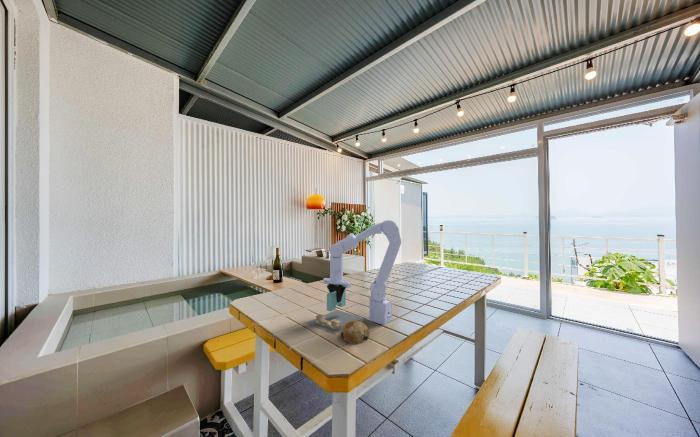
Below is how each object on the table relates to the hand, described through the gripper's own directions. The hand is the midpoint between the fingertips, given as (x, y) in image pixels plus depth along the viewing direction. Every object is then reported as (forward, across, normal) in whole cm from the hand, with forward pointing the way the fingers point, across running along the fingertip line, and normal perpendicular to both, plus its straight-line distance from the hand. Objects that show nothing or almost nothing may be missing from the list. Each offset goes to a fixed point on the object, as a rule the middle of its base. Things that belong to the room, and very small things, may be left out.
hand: (336, 301), depth 109 cm
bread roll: (+8, +17, -10) cm, 21 cm away
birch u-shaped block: (+7, +3, -9) cm, 12 cm away
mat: (+8, +2, -3) cm, 8 cm away
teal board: (+3, 0, 0) cm, 3 cm away
